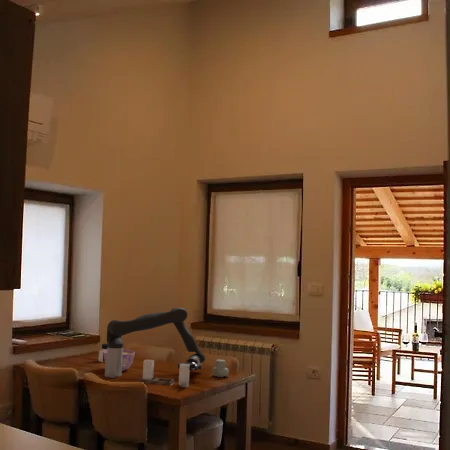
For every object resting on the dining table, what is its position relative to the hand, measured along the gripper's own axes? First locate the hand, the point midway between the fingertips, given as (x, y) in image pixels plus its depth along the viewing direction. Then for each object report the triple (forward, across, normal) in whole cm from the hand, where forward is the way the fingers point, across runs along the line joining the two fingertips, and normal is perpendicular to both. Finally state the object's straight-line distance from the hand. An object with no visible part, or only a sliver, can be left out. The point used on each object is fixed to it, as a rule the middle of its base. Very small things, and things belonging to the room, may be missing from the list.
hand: (188, 368), depth 325 cm
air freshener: (-23, +17, +8) cm, 29 cm away
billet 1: (+11, -21, +7) cm, 25 cm away
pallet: (+11, -16, +8) cm, 21 cm away
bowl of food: (-20, -48, +8) cm, 53 cm away
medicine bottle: (-46, -65, +8) cm, 80 cm away
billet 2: (+11, 0, +8) cm, 14 cm away
